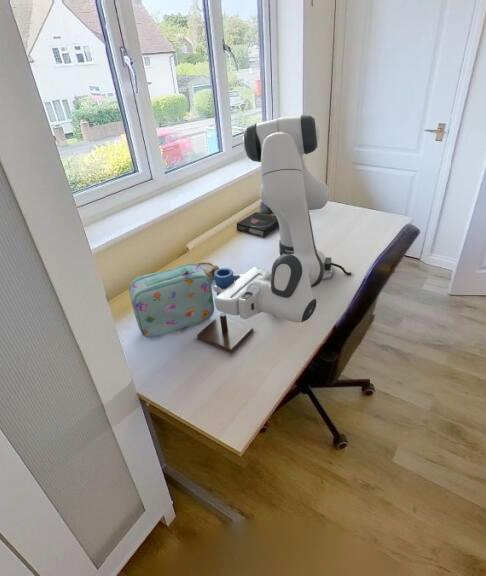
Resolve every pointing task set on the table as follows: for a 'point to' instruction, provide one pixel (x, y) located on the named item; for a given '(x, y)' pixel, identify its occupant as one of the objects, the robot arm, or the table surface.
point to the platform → (225, 333)
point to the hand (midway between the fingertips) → (222, 282)
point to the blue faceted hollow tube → (224, 278)
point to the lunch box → (171, 300)
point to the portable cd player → (258, 224)
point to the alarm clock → (209, 269)
